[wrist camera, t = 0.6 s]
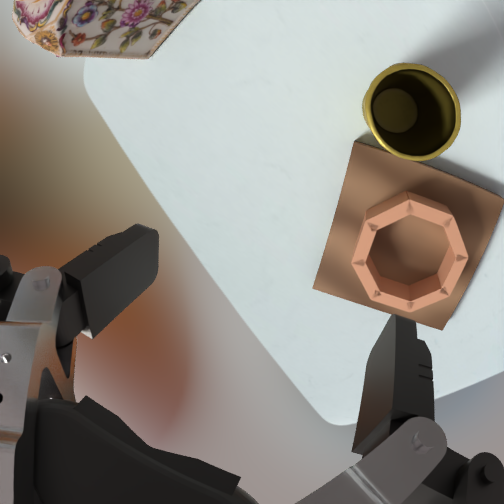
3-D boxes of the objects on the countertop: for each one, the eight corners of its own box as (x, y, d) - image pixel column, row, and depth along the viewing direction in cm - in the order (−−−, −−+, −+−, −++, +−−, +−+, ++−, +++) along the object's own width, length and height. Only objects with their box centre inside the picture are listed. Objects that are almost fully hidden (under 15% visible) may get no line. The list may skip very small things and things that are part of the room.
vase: (437, 103, 24) (488, 103, 12) (404, 155, 27) (429, 193, 15) (382, 66, 24) (390, 32, 12) (350, 118, 27) (334, 126, 15)
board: (354, 140, 28) (353, 142, 27) (500, 195, 25) (505, 199, 23) (314, 281, 36) (312, 288, 35) (440, 322, 32) (442, 330, 31)
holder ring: (375, 180, 28) (375, 187, 25) (472, 216, 25) (481, 227, 23) (344, 275, 33) (341, 290, 30) (432, 304, 30) (435, 320, 28)
